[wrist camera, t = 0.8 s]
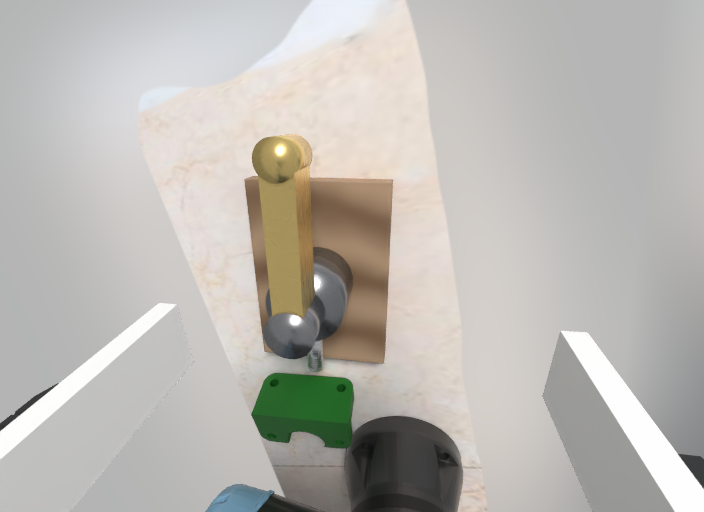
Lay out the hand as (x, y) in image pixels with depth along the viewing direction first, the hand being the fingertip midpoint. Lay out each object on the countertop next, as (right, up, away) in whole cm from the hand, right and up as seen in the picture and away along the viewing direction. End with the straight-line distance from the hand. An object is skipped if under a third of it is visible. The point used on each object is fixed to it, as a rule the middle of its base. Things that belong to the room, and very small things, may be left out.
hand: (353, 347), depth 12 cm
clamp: (-5, -15, +33) cm, 36 cm away
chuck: (-3, -2, +24) cm, 25 cm away
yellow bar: (-4, +4, +15) cm, 16 cm away
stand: (-3, +2, +25) cm, 25 cm away
